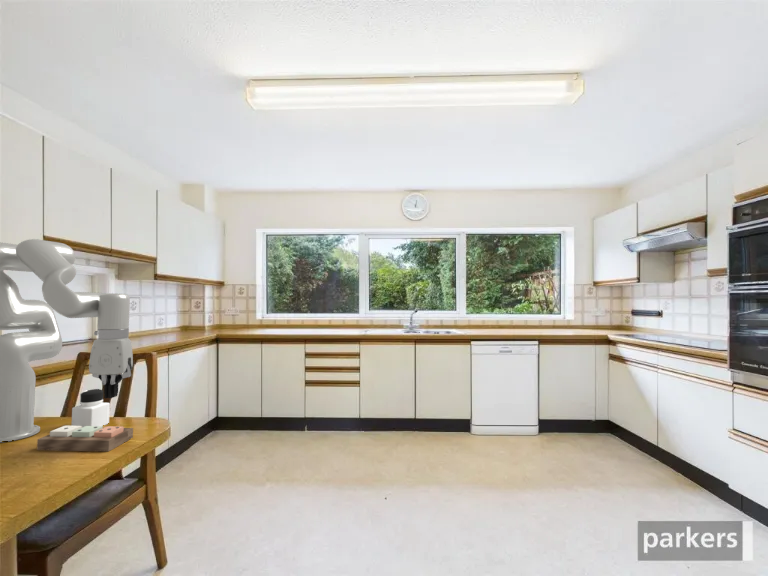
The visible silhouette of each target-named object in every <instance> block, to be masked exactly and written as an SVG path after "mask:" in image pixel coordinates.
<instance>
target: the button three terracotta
mask: <svg viewBox="0 0 768 576" xmlns="http://www.w3.org/2000/svg"><path fill="white" fill-rule="evenodd" d="M124 428H125V427H124V426H119V425H118V426H115V425H114V426H110V425H108V426H107V425H106V426H103V428H102V429H100V430H98V431H96V432H94V437H106V438H112V437H114V436H116V435H118V434H120V433H122V432H123V431H124Z"/></svg>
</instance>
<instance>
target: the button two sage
mask: <svg viewBox="0 0 768 576" xmlns="http://www.w3.org/2000/svg"><path fill="white" fill-rule="evenodd" d="M102 428H104V426H85V427H82V428H80V429H78V430H75V431H73V432H72V437H91V436H93V435H94V432H96V431H98V430H100V429H102Z"/></svg>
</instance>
